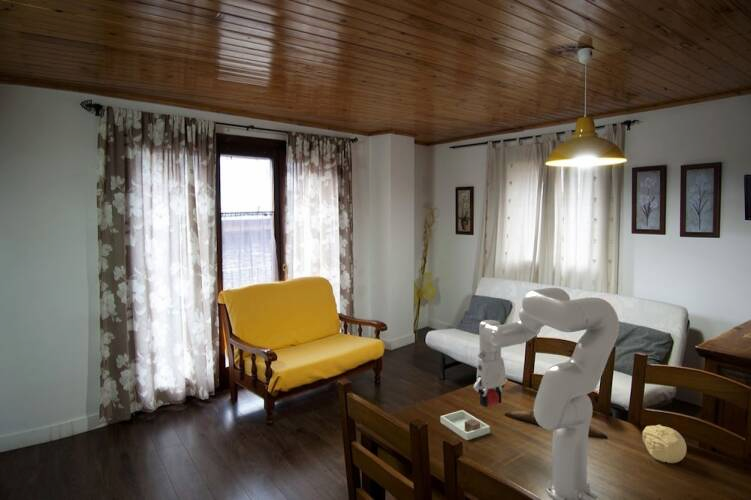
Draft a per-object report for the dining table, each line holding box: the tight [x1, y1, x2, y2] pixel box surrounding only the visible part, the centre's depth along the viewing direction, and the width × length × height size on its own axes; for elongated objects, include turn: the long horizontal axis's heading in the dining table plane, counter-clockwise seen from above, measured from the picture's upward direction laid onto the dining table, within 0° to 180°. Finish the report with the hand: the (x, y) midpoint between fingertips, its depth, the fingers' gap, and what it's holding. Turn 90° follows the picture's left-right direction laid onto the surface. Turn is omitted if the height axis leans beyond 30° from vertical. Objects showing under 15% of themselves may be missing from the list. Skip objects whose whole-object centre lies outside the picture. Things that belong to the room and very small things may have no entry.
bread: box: [504, 410, 609, 439], centre depth 176 cm, size 38×5×5 cm, turn 59°
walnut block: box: [465, 419, 480, 432], centre depth 171 cm, size 4×4×4 cm
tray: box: [439, 409, 491, 441], centre depth 175 cm, size 16×11×3 cm
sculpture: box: [642, 424, 687, 464], centre depth 153 cm, size 12×12×11 cm
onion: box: [486, 388, 499, 409], centre depth 164 cm, size 6×6×8 cm
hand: (490, 403), depth 165 cm, fingers closed on onion, 5 cm apart
